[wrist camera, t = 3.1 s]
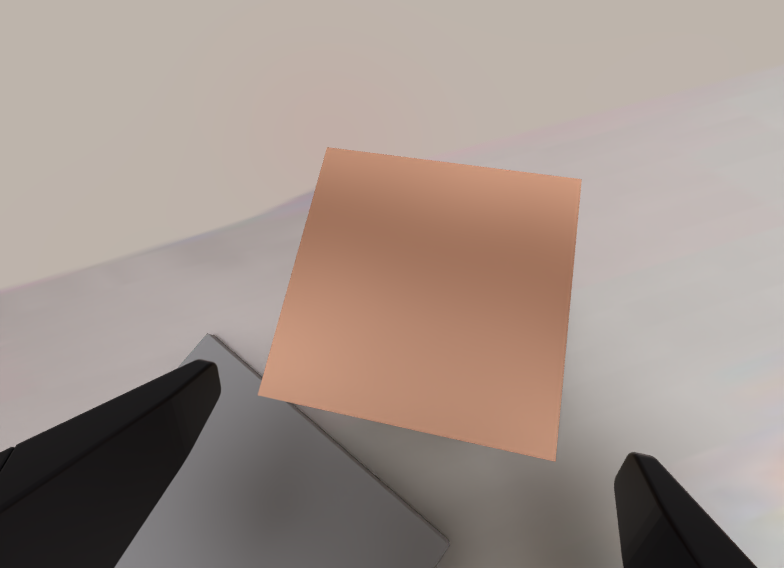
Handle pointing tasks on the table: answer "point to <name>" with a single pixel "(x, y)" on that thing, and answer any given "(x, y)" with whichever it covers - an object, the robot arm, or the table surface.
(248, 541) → the charcoal mat
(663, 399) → the table surface
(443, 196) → the maple block
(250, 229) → the table surface
